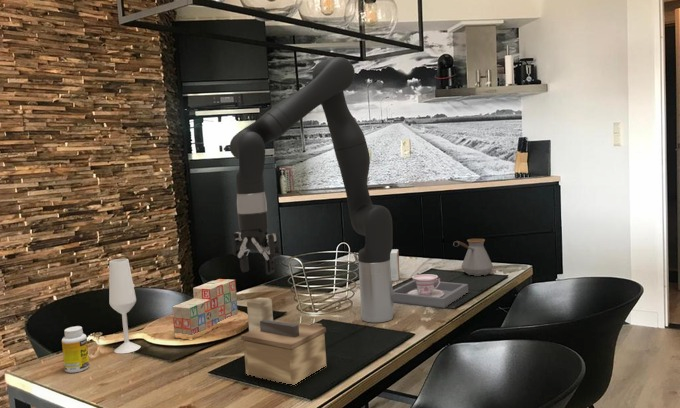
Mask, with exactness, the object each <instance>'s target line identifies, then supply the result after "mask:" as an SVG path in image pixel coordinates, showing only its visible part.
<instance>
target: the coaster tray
mask: <svg viewBox="0 0 680 408" xmlns="http://www.w3.org/2000/svg"><path fill="white" fill-rule="evenodd" d="M434 282H435V283H434V288H435V287H436V286H437V285H438V282H439V280H436V281H434ZM413 290H417V285H416V283H415V281H414V280H413V279H412V280H411V281H409V282H406V283H404V284H402V285H400V286H399V287H397V288H394V289H393V304H401V305H402V304H403V305H409V306H418V307H427V308H435V309H436V308H437V309H446V308H447V307H449V306H450V305H449V304H451V303H452V302H454V301H455V302H457V301H458V300H460V299H461V298H463V297H464V296H463V295H465V294H466V293H468V294H469V284H468V283H459V282H449V281H448V282H447V281H440V284H439V286H438V287H437V288H436V290H440V291H443V292H444V296H442V297H432V296H422V295H413V294H408V292H410V291H413ZM466 295H467V294H466ZM466 295H465V296H466ZM462 296H463V297H462ZM460 297H461V298H460ZM459 298H460V299H459ZM457 299H458V300H457ZM456 300H457V301H456ZM455 302H454V303H455ZM452 304H453V303H452ZM452 304H451V305H452ZM448 305H449V306H448Z"/></svg>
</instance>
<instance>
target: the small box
mask: <svg viewBox="0 0 680 408" xmlns="http://www.w3.org/2000/svg"><path fill="white" fill-rule="evenodd" d="M399 258H400V255H399V249H397V248H396V249H395V248H394V249H393V248H392V251H391V253H390V264H391V282H394V281H396V282H398V281H400V276H401V275H400V259H399Z"/></svg>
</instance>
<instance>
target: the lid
mask: <svg viewBox="0 0 680 408" xmlns="http://www.w3.org/2000/svg"><path fill="white" fill-rule="evenodd" d="M323 333H324V334H325V333H327V328H326V327H325V326H323V323H315V322H314V323H312V324H307V323H299V322H293V321H286V320H281V319H276V320H273V321H272V320H265V319H264V320H262V321H260V327H259V328H257V329H255V330H252V331H250V332H249V331H248V332H246V333H244V334H243V333H242V334H241V335H240V339H241V340H242V341H244V340H246V341H251V342H256V343H261V344H267V345H272V346H277V347H282V348H288V349H293V348H295V347H297V346H299V345H301V344H303V343H305V342H307V341H309V340H311V339H313V338H315V337H317V336H319V335H321V334H323Z"/></svg>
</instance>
